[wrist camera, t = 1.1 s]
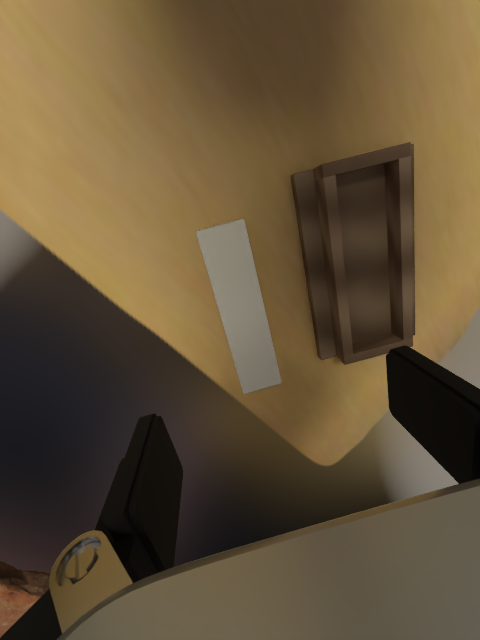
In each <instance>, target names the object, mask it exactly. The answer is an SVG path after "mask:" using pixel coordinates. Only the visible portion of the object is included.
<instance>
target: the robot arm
mask: <svg viewBox="0 0 480 640" xmlns="http://www.w3.org/2000/svg"><path fill="white" fill-rule="evenodd" d="M386 365H387V381H388V398H389V409H390V412H391V413H392V415H393V416H394V418H395V419H396V420H397V421H398V422H399V423H400V424H401V425H402V426H403V427H404V428H405V429H406V430H407V431H408V432H409V433H410V434H411V435H412V436H413V437H414V438H415V439H416V440H417V441H418V442H419V443H420V444H421V445H422V446H423V447H424V448H425V449H426V450H427V451H428V452H429V453H430V454H431V455H432V456H433V457H434V458H435V460H436V461H437V462H438V463H439V464H440V465H441V466H442V467H443V468H444V469H445V470H446V471H447V472H448V473H449V474H450V475H451V476H452V477H453V478H454V479H455V480H456V481H457V482H458V483H459V484H458V485H454V486H450V487H447V488H444V489H440V490H436V491H432V492H429V493H425V494H422V495H418V496H415V497H411V498H407V499H404V500H400V501H397V502H393V503H390V504H386V505H383V506H379V507H376V508H372V509H369V510H365V511H362V512H358V513H355V514H351V515H348V516H344V517H341V518H338V519H334V520H330V521H327V522H323V523H320V524H316V525H313V526H310V527H306V528H303V529H299V530H296V531H292V532H289V533H286V534H282V535H279V536H276V537H272V538H268V539H265V540H262V541H259V542H255V543H251V544H248V545H245V546H241V547H238V548H234V549H231V550H228V551H224V552H221V553H218V554H214V555H211V556H208V557H205V558H202V559H199V560H196V561H192V562H189V563H186V564H183V565H179V566H176V567H174V558H175V548H176V539H177V528H178V518H179V509H180V498H181V488H182V478H183V470H182V465H181V463H180V460H179V458H178V456H177V453H176V450H175V448H174V446H173V443H172V441H171V439H170V436H169V434H168V432H167V429H166V427H165V424H164V422H163V419H162V417H161V416H156V414H150V415H147V416H143V417H140V418H139V420H138V423H137V425H136V428H135V431H134V433H133V436H132V439H131V442H130V444H129V447H128V450H127V453H126V456H125V458H123V459H122V460H121V462H120V464H119V466H118V469H117V472H116V475H115V477H114V480H113V483H112V485H111V488H110V491H109V493H108V496H107V499H106V501H105V504H104V507H103V509H102V512H101V515H100V517H99V520H98V523H97V525H96V528H95V531H90V532H87V533H85V534H83V535H81V536H79V537H78V538H76V539H75V540H74V541H72V542H71V543H70V544H69V545H68V546H67V547H66V548H65V549H64V550H63V552H62V553H61V554H60V556H59V557H58V558H57V560H56V562H55V564H54V566H53V568H52V570H51V573H50V577H49V589H48V590H47V591H46V592H45V593H44V594H43V595H42V596H41V597H40V598H39V599H38V600H37V601H36V602H35V603H34V604H33V605H32V606H31V607H30V608H29V609H28V610H27V611H26V612H25V613H24V614H23V615H22V616H21V617H20V618H19V619H18V620H17V621H16V622H15V623H14V624H13V625H12V626H11V627H10V628H9V629H8V630H7V631H6V632H5V633H4V634H3V635H2V636H1V637H0V640H480V389H479V388H477V387H475V386H474V385H472V384H470V383H468V382H467V381H465V380H464V379H462V378H460V377H458V376H456V375H455V374H453V373H452V372H450V371H448V370H447V369H445V368H443V367H442V366H440V365H438V364H437V363H435V362H433V361H432V360H430V359H428V358H427V357H425V356H423V355H422V354H420V353H418V352H417V351H415V350H413V349H412V348H410V347H408V346H406V345H404V346H400V347H396V348H393V349H390V351H389V353H388V354H387V355H386Z"/></svg>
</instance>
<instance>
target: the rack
mask: <svg viewBox="0 0 480 640" xmlns="http://www.w3.org/2000/svg"><path fill="white" fill-rule="evenodd" d="M291 182H292V188H293V195H294V201H295V208H296V215H297V221H298V228H299V234H300V241H301V247H302V254H303V260H304V267H305V274H306V280H307V287H308V293H309V300H310V306H311V313H312V319H313V326H314V333H315V339H316V346H317V352H318V357H319V358H320V359H321V360H324V359H328V358H331V357H335V356H337V357H338V358H339V359H340V360H341V361H342V362H343V363H344V364H345V365H346V364H350V363H353V362H357V361H361V360H364V359H368V358H372V357H375V356H379V355H383V354H386V353H389V351H390V349H393V348H396V347H400V346H404V345H406V346H408V347H412V346H413V335H415V263H414V144H411V145H410V142H409V143H405V144H401V145H397V146H393V147H389V148H385V149H381V150H377V151H373V152H369V153H365V154H362V155H358V156H354V157H350V158H346V159H342V160H338V161H334V162H330V163H326V164H322V165H320V166H318V167H316V168H314V169H311V170H307V171H303V172H299V173H295V174H293V175H291Z"/></svg>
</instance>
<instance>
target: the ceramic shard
mask: <svg viewBox="0 0 480 640" xmlns="http://www.w3.org/2000/svg"><path fill="white" fill-rule="evenodd" d="M49 577H50V574H47V573H43V572H36V571H21V570H17V569H15V568H14V567H12V566H10V565H8V564H6V563H4V562H1V561H0V637H1V636H2V635H3V634H4V633H5V632H6V631H7V630H8V629H9V628H10V627H11V626H12V625H13V624H14V623H15V622H16V621H17V620H18V619H19V618H20V617H21V616H22V615H23V614H24V613H25V612H26V611H27V610H28V609H29V608H30V607H31V606H32V605H33V604H34V603H35V602H36V601H37V600H38V599H39V598H40V597H41V596H42V595H43V594H44V593H45V592H46V591H47V590H48V589H49Z"/></svg>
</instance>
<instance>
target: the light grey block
mask: <svg viewBox="0 0 480 640" xmlns="http://www.w3.org/2000/svg"><path fill="white" fill-rule="evenodd" d="M196 234H197V238H198V241H199V244H200V248H201V251H202V255H203V258H204V261H205V265H206V268H207V272H208V275H209V278H210V282H211V285H212V289H213V292H214V295H215V299H216V302H217V306H218V309H219V312H220V316H221V319H222V323H223V326H224V329H225V333H226V336H227V340H228V343H229V346H230V350H231V353H232V357H233V360H234V363H235V367H236V370H237V373H238V377H239V380H240V384H241V387H242V390H243V394H246V393H250V392H253V391H257V390H260V389H264V388H267V387H271V386H274V385H278V384H281V383H282V382H281V377H280V373H279V368H278V364H277V360H276V355H275V351H274V347H273V342H272V338H271V334H270V329H269V325H268V321H267V316H266V312H265V308H264V303H263V299H262V295H261V290H260V286H259V282H258V277H257V273H256V269H255V264H254V260H253V255H252V251H251V247H250V242H249V238H248V234H247V229H246V225H245V221H244V219H238V220H233V221H229V222H225V223H222V224H218V225H214V226H210V227H207V228H203V229H199V230H198V231H196Z"/></svg>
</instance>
